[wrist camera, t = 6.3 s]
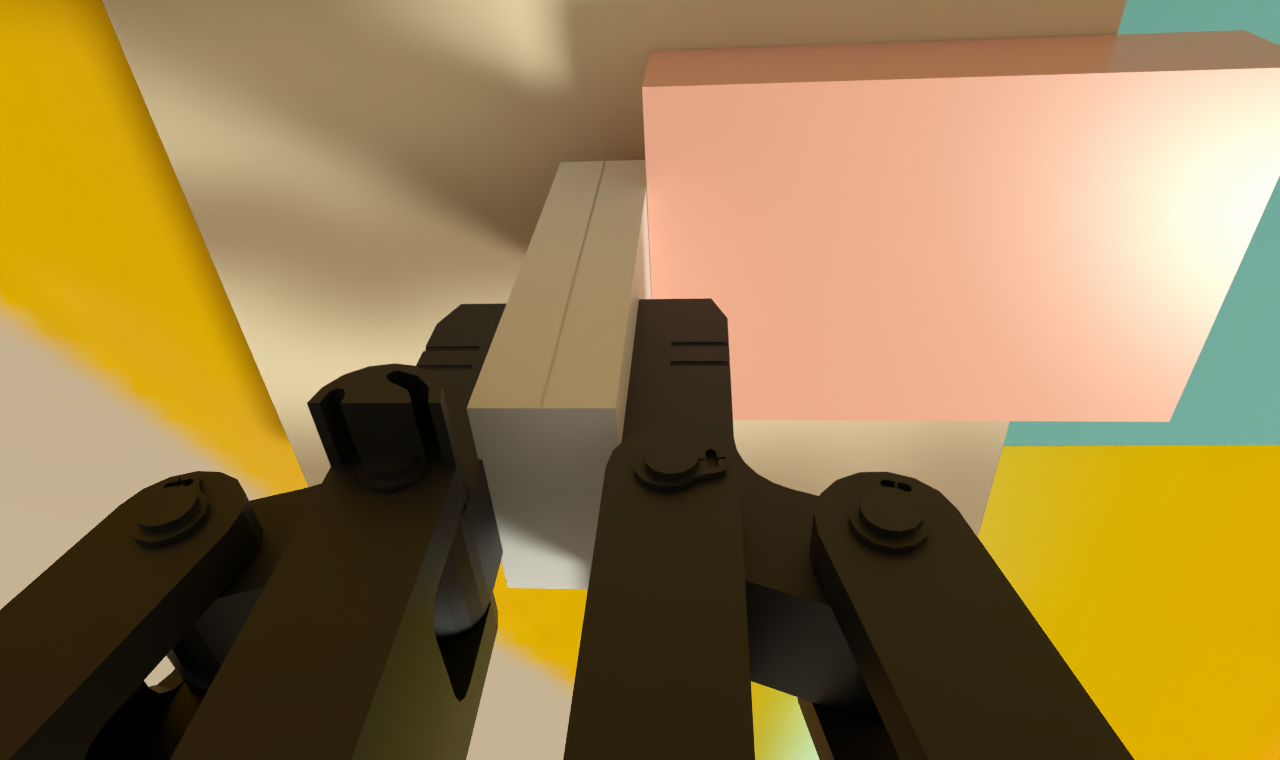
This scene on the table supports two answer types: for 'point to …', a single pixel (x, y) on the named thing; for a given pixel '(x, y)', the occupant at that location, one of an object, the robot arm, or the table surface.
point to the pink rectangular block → (961, 217)
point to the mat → (1249, 316)
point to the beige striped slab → (477, 171)
